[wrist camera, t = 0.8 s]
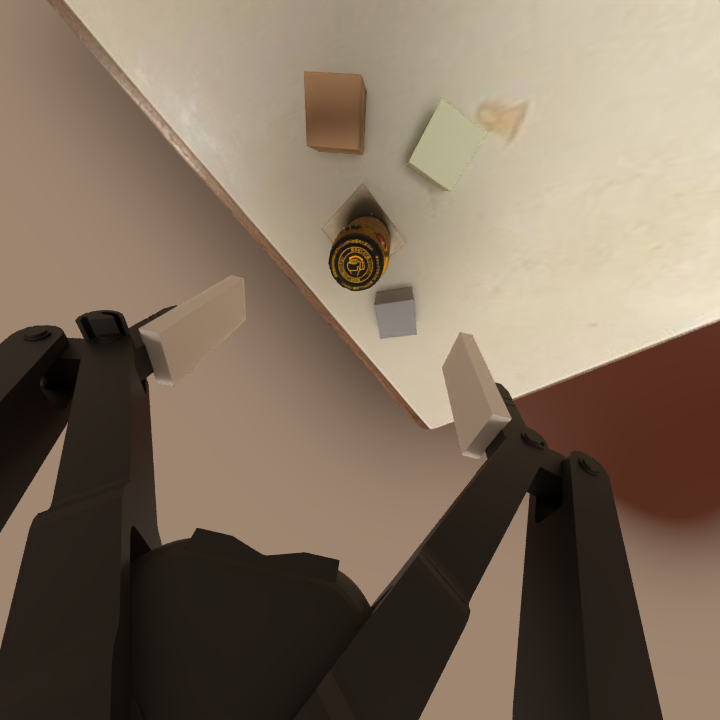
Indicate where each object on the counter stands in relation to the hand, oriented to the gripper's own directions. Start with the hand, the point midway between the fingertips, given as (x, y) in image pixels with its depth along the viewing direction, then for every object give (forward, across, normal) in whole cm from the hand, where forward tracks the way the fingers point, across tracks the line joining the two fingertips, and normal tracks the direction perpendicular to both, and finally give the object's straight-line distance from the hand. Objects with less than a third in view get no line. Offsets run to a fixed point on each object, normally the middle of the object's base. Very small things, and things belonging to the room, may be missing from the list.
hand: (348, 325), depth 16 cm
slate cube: (+23, +5, -7) cm, 24 cm away
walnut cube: (+23, -6, +11) cm, 26 cm away
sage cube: (+23, +4, +11) cm, 26 cm away
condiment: (+23, -2, +1) cm, 23 cm away
